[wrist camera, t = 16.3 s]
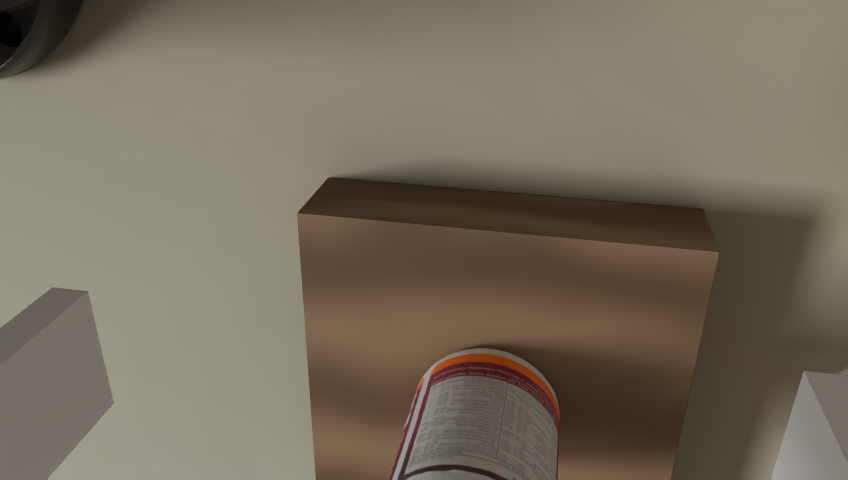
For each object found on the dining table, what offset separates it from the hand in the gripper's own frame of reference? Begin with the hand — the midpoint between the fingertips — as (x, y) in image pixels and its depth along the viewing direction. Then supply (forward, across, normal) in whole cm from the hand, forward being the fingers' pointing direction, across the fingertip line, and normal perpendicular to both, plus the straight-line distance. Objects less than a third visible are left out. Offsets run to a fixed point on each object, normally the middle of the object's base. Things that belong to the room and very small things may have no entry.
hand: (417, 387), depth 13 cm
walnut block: (+18, 0, -12) cm, 21 cm away
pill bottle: (+14, 0, -12) cm, 18 cm away
